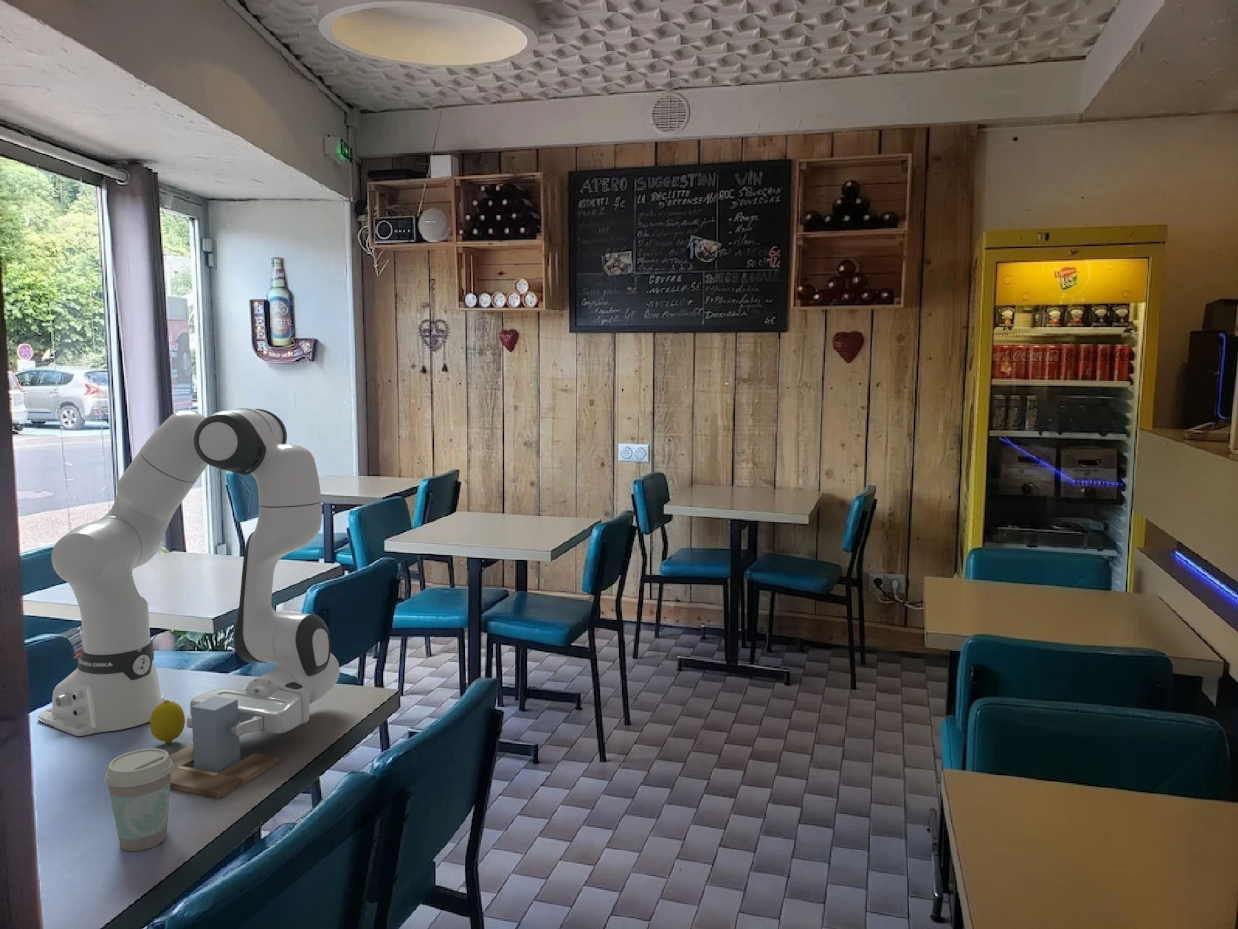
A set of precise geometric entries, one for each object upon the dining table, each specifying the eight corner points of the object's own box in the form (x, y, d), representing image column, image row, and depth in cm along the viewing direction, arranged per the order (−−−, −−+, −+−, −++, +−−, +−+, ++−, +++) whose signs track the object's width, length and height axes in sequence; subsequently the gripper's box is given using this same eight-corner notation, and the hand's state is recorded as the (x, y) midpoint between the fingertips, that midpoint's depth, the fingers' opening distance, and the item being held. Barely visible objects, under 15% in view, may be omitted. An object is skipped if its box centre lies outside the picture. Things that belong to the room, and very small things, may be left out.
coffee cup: (110, 864, 116) (105, 779, 115) (107, 835, 123) (102, 756, 122) (181, 845, 121) (176, 763, 120) (173, 818, 128) (169, 741, 127)
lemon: (192, 737, 156) (190, 695, 156) (173, 750, 151) (171, 707, 150) (164, 736, 157) (161, 694, 156) (144, 749, 152) (141, 705, 151)
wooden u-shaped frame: (131, 780, 140) (131, 774, 140) (194, 748, 152) (194, 742, 152) (219, 798, 134) (218, 792, 134) (277, 763, 146) (277, 757, 146)
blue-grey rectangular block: (194, 769, 144) (191, 706, 143) (217, 757, 149) (214, 696, 147) (218, 774, 142) (215, 710, 141) (240, 761, 147) (237, 699, 146)
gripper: (224, 675, 160) (162, 701, 147) (315, 688, 153) (259, 717, 140) (225, 707, 160) (164, 737, 147) (316, 722, 154) (261, 754, 141)
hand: (211, 727), depth 144 cm, fingers open, 8 cm apart
